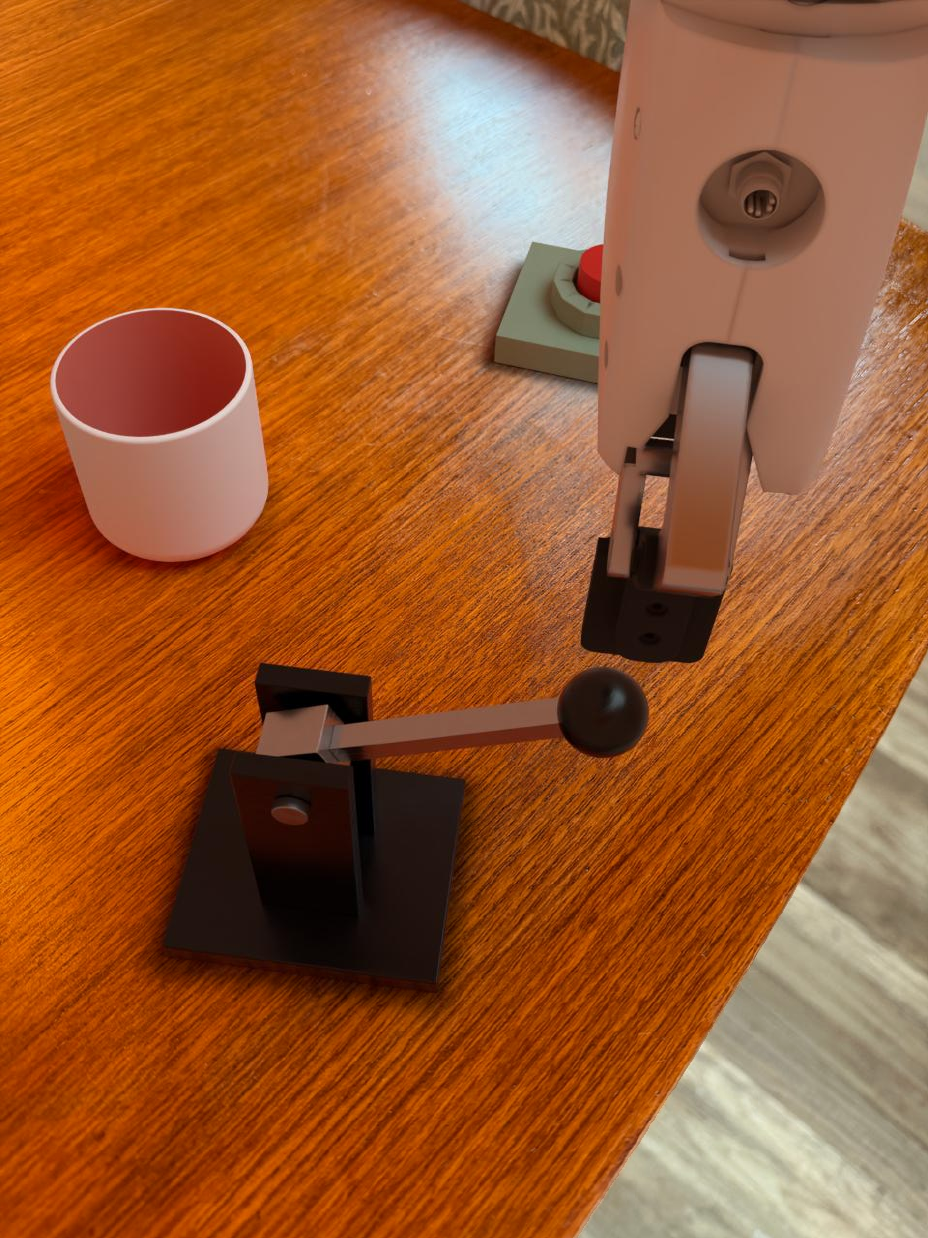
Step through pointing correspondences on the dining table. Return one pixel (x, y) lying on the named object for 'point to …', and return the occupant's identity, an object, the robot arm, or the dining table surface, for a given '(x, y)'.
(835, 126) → the robot arm
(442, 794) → the bracket
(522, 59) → the dining table surface
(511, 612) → the dining table surface
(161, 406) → the cup
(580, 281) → the button
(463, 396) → the dining table surface
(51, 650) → the dining table surface
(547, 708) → the lever
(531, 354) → the button box
